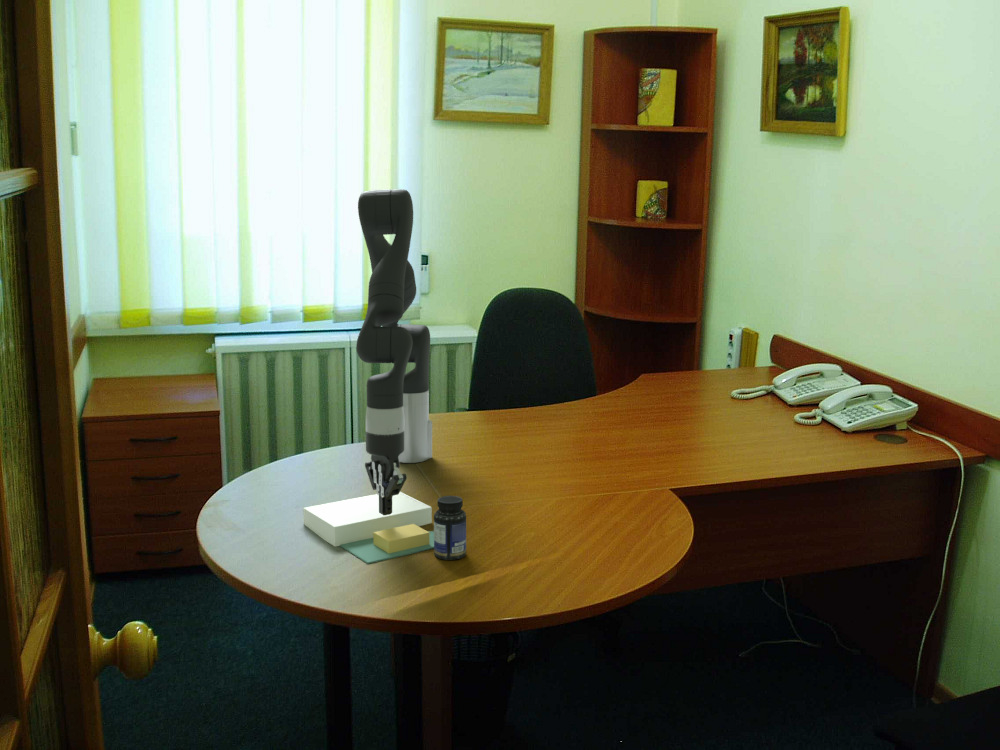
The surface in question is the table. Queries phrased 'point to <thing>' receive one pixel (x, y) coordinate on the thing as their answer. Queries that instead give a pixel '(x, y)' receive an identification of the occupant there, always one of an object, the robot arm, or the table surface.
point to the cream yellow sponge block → (401, 538)
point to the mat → (374, 554)
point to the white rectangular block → (363, 517)
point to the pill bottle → (450, 529)
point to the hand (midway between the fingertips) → (385, 513)
